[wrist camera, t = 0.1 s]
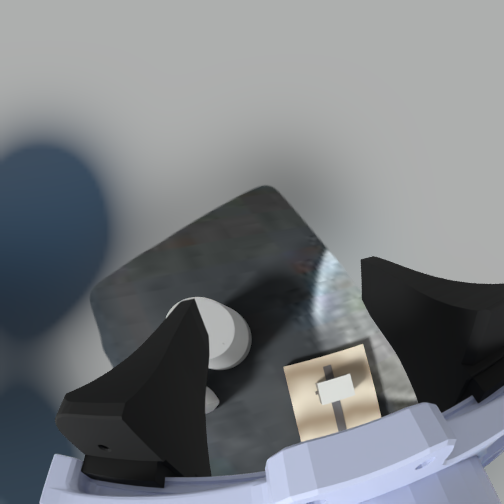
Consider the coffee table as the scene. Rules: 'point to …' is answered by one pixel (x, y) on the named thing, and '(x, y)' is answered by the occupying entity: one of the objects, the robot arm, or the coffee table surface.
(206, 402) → the eye dropper bottle
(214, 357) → the smart speaker
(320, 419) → the console
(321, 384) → the fader tab
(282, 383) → the coffee table surface
